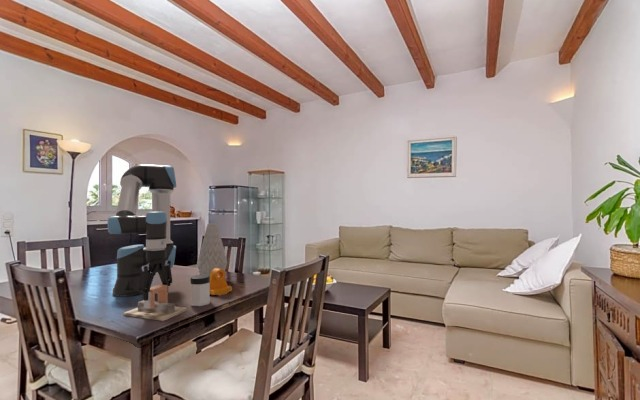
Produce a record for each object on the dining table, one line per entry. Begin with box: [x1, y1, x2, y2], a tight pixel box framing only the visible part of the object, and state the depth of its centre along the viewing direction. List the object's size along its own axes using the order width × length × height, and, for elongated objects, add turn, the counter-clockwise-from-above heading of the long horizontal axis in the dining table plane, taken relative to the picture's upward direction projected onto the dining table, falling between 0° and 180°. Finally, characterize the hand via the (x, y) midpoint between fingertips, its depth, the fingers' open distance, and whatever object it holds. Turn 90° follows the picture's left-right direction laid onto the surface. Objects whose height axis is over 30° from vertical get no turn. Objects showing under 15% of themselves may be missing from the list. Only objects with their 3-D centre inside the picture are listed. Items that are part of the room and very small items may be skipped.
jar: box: [189, 274, 211, 307], centre depth 148 cm, size 9×8×12 cm
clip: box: [146, 283, 169, 309], centre depth 135 cm, size 4×8×8 cm, turn 162°
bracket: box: [210, 268, 233, 296], centre depth 164 cm, size 11×7×12 cm, turn 136°
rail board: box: [123, 299, 188, 322], centre depth 135 cm, size 20×13×4 cm, turn 72°
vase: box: [196, 223, 228, 276], centre depth 188 cm, size 17×17×33 cm
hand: (156, 304), depth 135 cm, fingers closed on clip, 8 cm apart
